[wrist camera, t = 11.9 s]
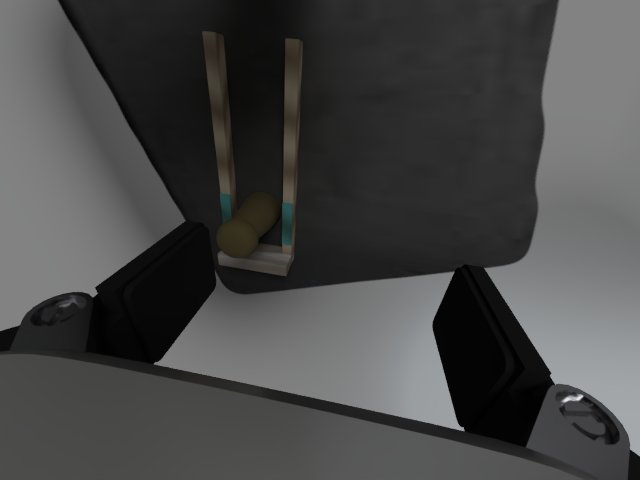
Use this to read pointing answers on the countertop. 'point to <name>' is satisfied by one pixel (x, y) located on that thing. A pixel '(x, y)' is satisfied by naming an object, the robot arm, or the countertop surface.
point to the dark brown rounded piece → (248, 225)
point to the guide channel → (264, 254)
